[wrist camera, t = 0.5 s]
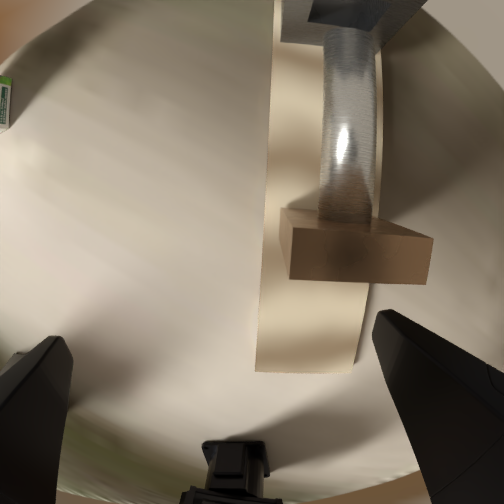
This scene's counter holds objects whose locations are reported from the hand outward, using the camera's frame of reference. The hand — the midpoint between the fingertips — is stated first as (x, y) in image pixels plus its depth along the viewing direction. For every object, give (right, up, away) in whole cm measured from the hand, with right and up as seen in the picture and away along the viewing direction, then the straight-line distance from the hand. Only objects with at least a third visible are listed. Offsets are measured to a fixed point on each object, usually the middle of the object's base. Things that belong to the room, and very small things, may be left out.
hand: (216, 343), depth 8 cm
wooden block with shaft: (+6, +9, +11) cm, 16 cm away
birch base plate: (+6, +8, +13) cm, 16 cm away
